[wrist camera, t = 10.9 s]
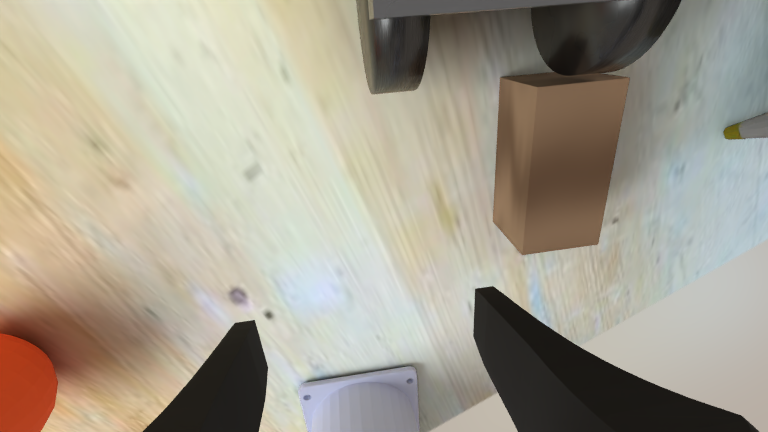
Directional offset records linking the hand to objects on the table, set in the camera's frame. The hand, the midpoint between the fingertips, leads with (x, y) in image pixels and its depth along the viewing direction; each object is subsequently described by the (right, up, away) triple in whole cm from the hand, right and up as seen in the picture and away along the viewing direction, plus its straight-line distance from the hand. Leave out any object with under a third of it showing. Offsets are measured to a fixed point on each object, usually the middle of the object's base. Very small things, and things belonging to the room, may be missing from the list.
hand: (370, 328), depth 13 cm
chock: (+9, +7, +9) cm, 14 cm away
